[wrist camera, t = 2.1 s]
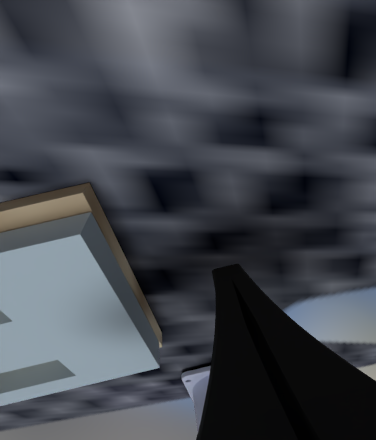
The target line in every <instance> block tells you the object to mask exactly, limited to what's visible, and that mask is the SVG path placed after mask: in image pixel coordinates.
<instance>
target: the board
mask: <svg viewBox="0 0 376 440" xmlns="http://www.w3.org/2000/svg"><path fill="white" fill-rule="evenodd" d="M88 212H92V214H93V216H94V218H95V220H96V222H97V224H98V226H99V228H100V230H101V232H102V234H103V235H104V237H105V239H106V241H107V243H108V245H109V247H110V249H111V251H112V253H113V255H114V257H115V258H116V260H117V262H118V264H119V266H120V268H121V270H122V272H123V274H124V276H125V278H126V280H127V281H128V283H129V285H130V287H131V289H132V291H133V293H134V295H135V297H136V299H137V301H138V303H139V305H140V306H141V308H142V310H143V312H144V314H145V316H146V318H147V320H148V322H149V324H150V326H151V328H152V329H153V331H154V333H155V335H156V337H157V339H158V341H159V347H162V332H161V330H160V328H159V326H158V324H157V322H156V319H155V317H154V315H153V313H152V311H151V309H150V307H149V305H148V303H147V301H146V299H145V297H144V295H143V293H142V290H141V288H140V286H139V284H138V282H137V280H136V278H135V276H134V274H133V272H132V270H131V268H130V266H129V264H128V261H127V259H126V257H125V255H124V253H123V251H122V249H121V247H120V245H119V243H118V241H117V239H116V237H115V235H114V233H113V230H112V228H111V226H110V224H109V222H108V220H107V218H106V216H105V214H104V212H103V210H102V208H101V206H100V204H99V201H98V199H97V197H96V195H95V193H94V191H93V189H92V187H91V185H90V183H85V184H81V185H77V186H72V187H68V188H64V189H59V190H55V191H51V192H46V193H42V194H38V195H33V196H29V197H24V198H20V199H16V200H11V201H7V202H3V203H0V233H2V232H6V231H11V230H15V229H19V228H24V227H28V226H32V225H37V224H41V223H45V222H50V221H54V220H58V219H62V218H67V217H71V216H75V215H80V214H84V213H88Z"/></svg>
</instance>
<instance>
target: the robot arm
mask: <svg viewBox="0 0 376 440" xmlns="http://www.w3.org/2000/svg"><path fill="white" fill-rule="evenodd" d="M212 274H213V280H214V286H215V293H216V318H215V335H214V345H213V354H212V361H211V366H207V367H203V368H199V369H195V370H191V371H186V372H184V373H182V375H181V377H182V381H183V383H184V385H185V387H186V389H187V391H188V393H189V395H190V397H191V399H192V401H193V403H194V407H195V414H196V423H197V431H198V435H197V439H196V440H376V381H375V380H373V379H372V378H370V377H369V376H367V375H366V374H364V373H363V372H361V371H360V370H359V369H357V368H356V367H354V366H353V365H351V364H350V363H348V362H347V361H345V360H344V359H343V358H341V357H340V356H339V355H337V354H336V353H334V352H333V351H332V350H330V349H329V348H327V347H326V346H325V345H323V344H322V343H321V342H319V341H318V340H317V339H315V338H314V337H313V336H312V335H310V334H309V333H308V332H307V331H305V330H304V329H303V328H302V327H301V326H299V325H298V324H297V323H296V322H295V321H293V320H292V319H291V318H290V317H289V316H288V315H287V314H285V313H284V312H283V311H282V310H281V309H280V308H279V307H278V306H277V305H276V304H275V303H274V302H273V301H272V300H271V299H270V298H269V297H268V296H267V295H266V294H265V293H264V292H263V291H262V290H261V289H260V288H259V287H258V286H257V285H256V284H255V283H254V282H253V280H252V279H251V278H250V277H249V276H248V275H247V273H246V272H245V271H244V270H243V268H242V267H241V266H240V265H239V264H234V265H230V266H226V267H221V268H217V269H214V270H213V271H212Z"/></svg>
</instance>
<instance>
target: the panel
mask: <svg viewBox="0 0 376 440" xmlns="http://www.w3.org/2000/svg"><path fill="white" fill-rule="evenodd" d="M156 368H160V353H159V341H158V339H157V337H156V335H155V333H154V331H153V329H152V328H151V326H150V324H149V322H148V320H147V318H146V316H145V314H144V312H143V310H142V308H141V306H140V305H139V303H138V301H137V299H136V297H135V295H134V293H133V291H132V289H131V287H130V285H129V283H128V281H127V280H126V278H125V276H124V274H123V272H122V270H121V268H120V266H119V264H118V262H117V260H116V258H115V257H114V255H113V253H112V251H111V249H110V247H109V245H108V243H107V241H106V239H105V237H104V235H103V234H102V232H101V230H100V228H99V226H98V224H97V222H96V220H95V218H94V216H93V214H92V212H88V213H84V214H80V215H75V216H71V217H67V218H62V219H58V220H54V221H50V222H45V223H41V224H37V225H32V226H28V227H24V228H19V229H15V230H11V231H6V232H2V233H0V406H2V405H6V404H10V403H15V402H19V401H23V400H27V399H31V398H35V397H40V396H44V395H48V394H52V393H56V392H60V391H65V390H69V389H73V388H77V387H81V386H85V385H90V384H94V383H98V382H102V381H106V380H110V379H115V378H119V377H123V376H127V375H131V374H135V373H139V372H144V371H148V370H152V369H156Z"/></svg>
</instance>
